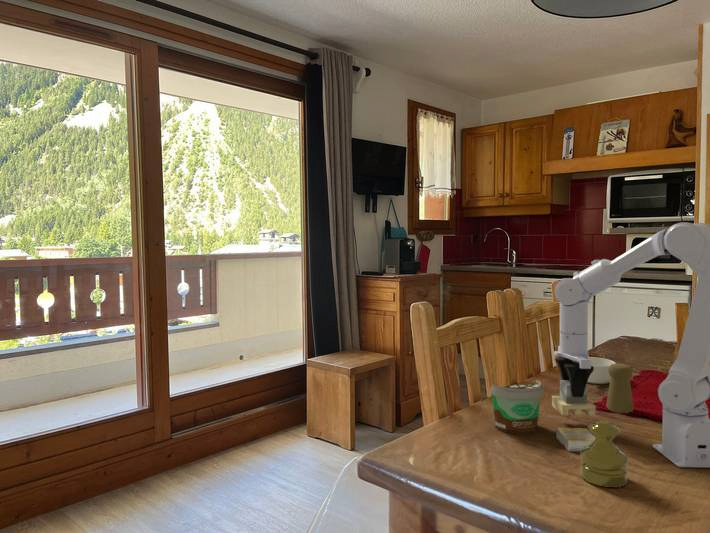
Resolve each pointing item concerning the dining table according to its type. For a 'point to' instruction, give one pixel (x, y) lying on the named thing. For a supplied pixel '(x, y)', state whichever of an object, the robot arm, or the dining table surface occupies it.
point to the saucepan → (600, 370)
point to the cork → (620, 389)
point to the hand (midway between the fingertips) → (573, 393)
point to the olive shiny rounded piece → (604, 457)
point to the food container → (517, 407)
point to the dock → (574, 438)
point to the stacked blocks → (572, 401)
